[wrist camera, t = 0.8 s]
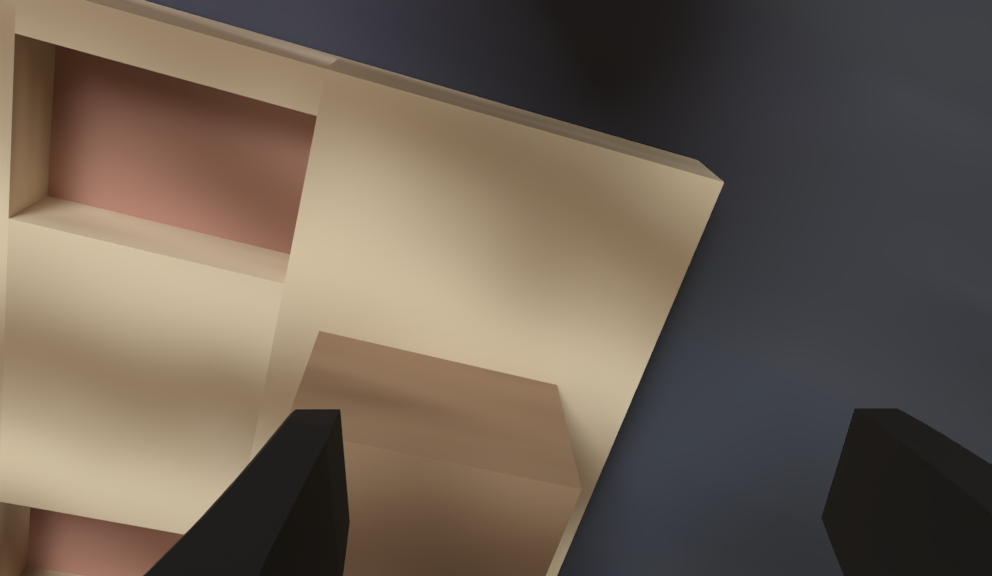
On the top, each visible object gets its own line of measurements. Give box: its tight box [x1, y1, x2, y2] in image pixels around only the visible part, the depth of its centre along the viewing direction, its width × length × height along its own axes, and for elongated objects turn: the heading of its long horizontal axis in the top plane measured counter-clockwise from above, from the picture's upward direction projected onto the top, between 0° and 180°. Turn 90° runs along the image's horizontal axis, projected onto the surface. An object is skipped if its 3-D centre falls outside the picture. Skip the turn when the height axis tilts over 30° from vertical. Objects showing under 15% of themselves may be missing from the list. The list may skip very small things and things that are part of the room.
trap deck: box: [0, 0, 724, 576], centre depth 19 cm, size 18×24×2 cm
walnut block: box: [289, 331, 582, 576], centre depth 17 cm, size 6×6×4 cm
